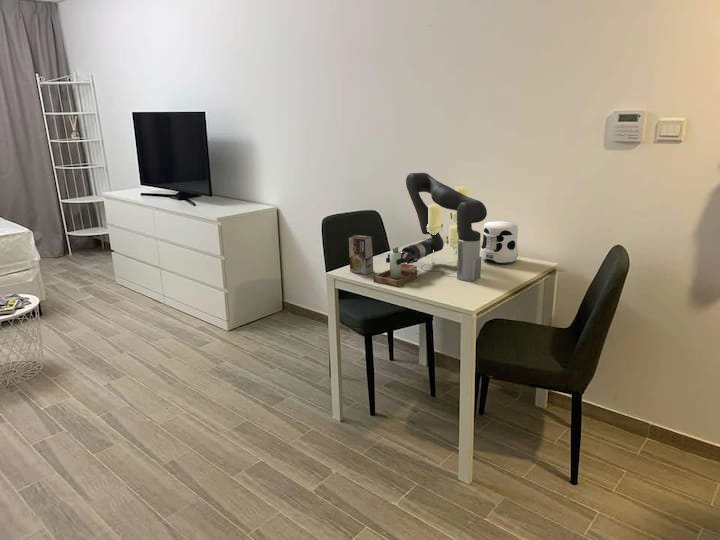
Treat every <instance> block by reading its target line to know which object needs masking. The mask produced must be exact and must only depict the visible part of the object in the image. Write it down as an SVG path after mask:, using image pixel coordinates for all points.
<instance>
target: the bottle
mask: <svg viewBox="0 0 720 540" xmlns="http://www.w3.org/2000/svg"><path fill="white" fill-rule="evenodd" d="M389 253H390V262H389V270H390V278H393V279H398V278H401V264H399V265H397V264H396V260H397V259H400V258H401V251H400V250H399V247H398V246H394V247H392V250H391V251H389Z"/></svg>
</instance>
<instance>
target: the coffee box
mask: <svg viewBox="0 0 720 540" xmlns="http://www.w3.org/2000/svg"><path fill="white" fill-rule="evenodd" d="M373 238H374V237H373V236H369V235H363V234H362V235H361V234H354V235H352V236H350V237H348V247H349V248H348V250H349V251H348V252H349V272H350V271H351V273H356V274H363V275H367V274H369V273H372V272H374V251H373V250H374V245H373V244H374V243H373V240H374V239H373Z"/></svg>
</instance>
